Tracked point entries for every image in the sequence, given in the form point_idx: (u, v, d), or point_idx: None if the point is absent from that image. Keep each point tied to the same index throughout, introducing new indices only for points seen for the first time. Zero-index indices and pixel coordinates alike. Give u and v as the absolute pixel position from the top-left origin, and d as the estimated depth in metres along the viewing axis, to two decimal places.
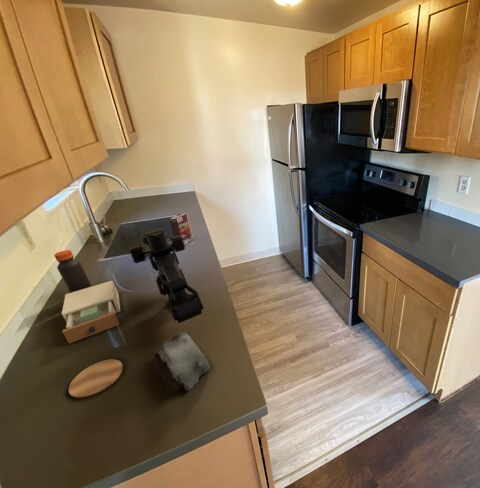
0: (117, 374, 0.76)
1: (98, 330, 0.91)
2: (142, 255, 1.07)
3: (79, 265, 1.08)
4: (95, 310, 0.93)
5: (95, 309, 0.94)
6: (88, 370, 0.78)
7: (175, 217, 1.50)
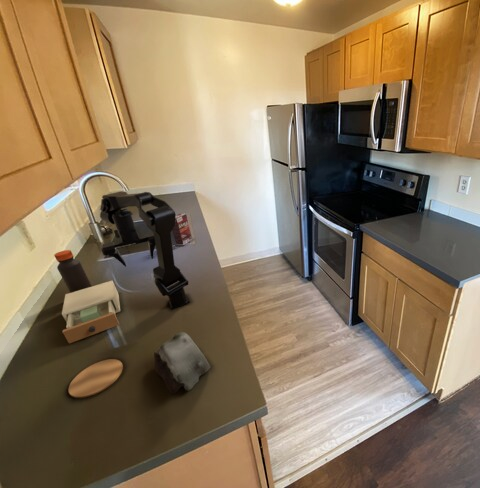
0: (117, 374, 0.76)
1: (98, 330, 0.91)
2: (111, 244, 1.02)
3: (79, 265, 1.08)
4: (95, 310, 0.93)
5: (95, 309, 0.94)
6: (88, 370, 0.78)
7: None
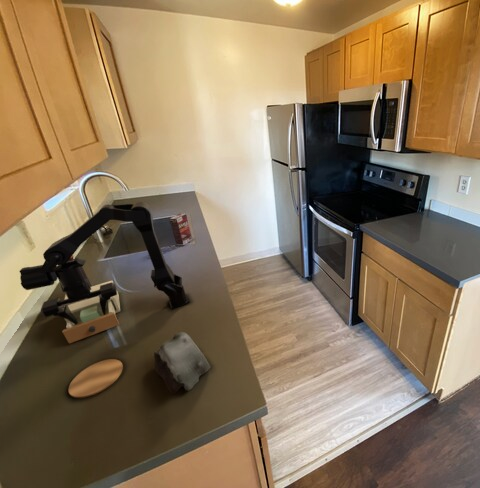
0: (117, 374, 0.76)
1: (98, 330, 0.91)
2: (55, 301, 0.86)
3: None
4: (95, 310, 0.93)
5: (95, 309, 0.94)
6: (88, 370, 0.78)
7: (175, 217, 1.50)
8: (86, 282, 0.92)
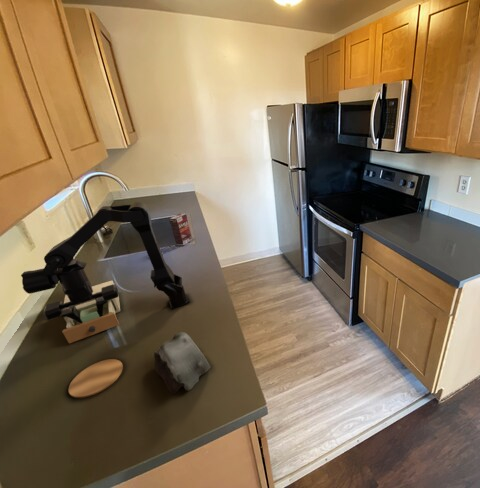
0: (117, 374, 0.76)
1: (98, 330, 0.91)
2: (57, 304, 0.87)
3: None
4: (95, 310, 0.93)
5: (95, 309, 0.94)
6: (88, 370, 0.78)
7: (175, 217, 1.50)
8: (88, 284, 0.92)
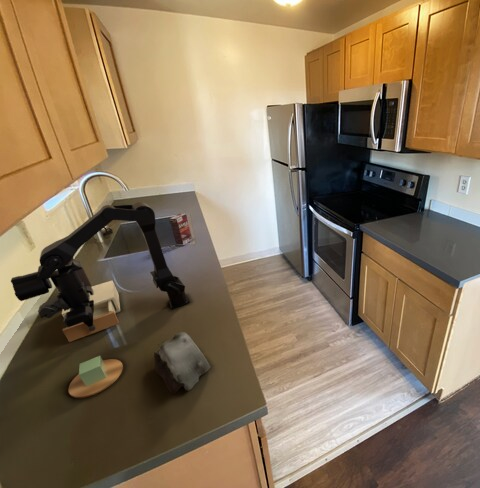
0: (117, 374, 0.76)
1: (98, 329, 0.92)
2: (77, 309, 0.81)
3: None
4: (98, 363, 0.74)
5: (98, 361, 0.75)
6: None
7: (175, 217, 1.50)
8: None
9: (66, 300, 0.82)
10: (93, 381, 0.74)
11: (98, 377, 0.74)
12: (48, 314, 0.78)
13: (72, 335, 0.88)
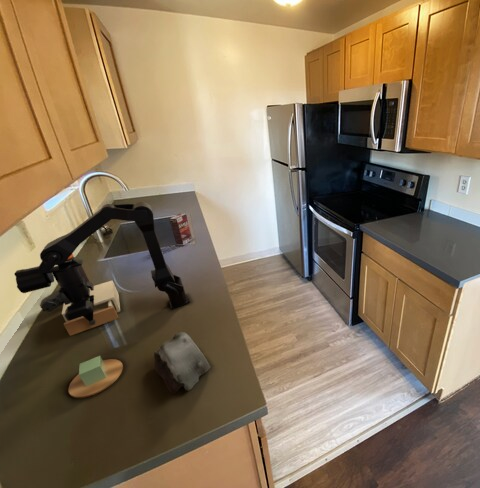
0: (117, 374, 0.76)
1: (98, 323, 0.94)
2: (78, 303, 0.84)
3: None
4: (98, 363, 0.74)
5: (98, 361, 0.75)
6: None
7: (175, 217, 1.50)
8: None
9: (67, 295, 0.84)
10: (93, 381, 0.74)
11: (98, 377, 0.74)
12: (50, 308, 0.81)
13: (73, 329, 0.91)
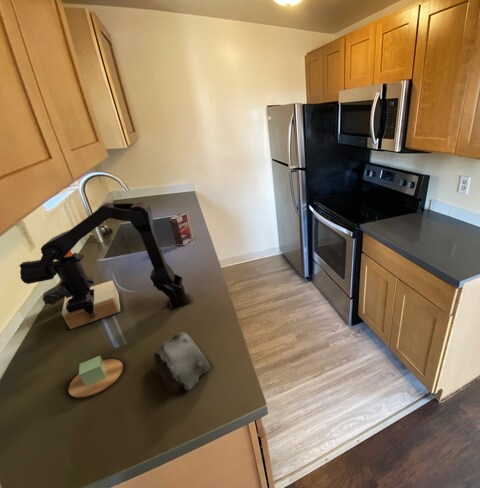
0: (117, 374, 0.76)
1: (98, 316, 0.98)
2: (79, 296, 0.87)
3: None
4: (98, 363, 0.74)
5: (98, 361, 0.75)
6: None
7: (175, 217, 1.50)
8: None
9: (68, 288, 0.88)
10: (93, 381, 0.74)
11: (98, 377, 0.74)
12: (51, 301, 0.84)
13: (74, 322, 0.94)
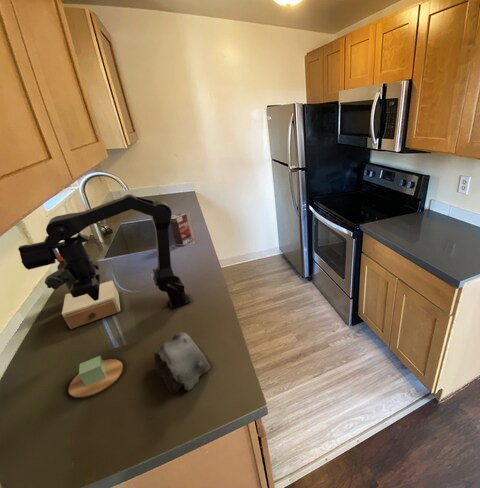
0: (117, 374, 0.76)
1: (98, 316, 0.98)
2: (84, 280, 0.81)
3: None
4: (98, 363, 0.74)
5: (98, 361, 0.75)
6: None
7: (175, 217, 1.50)
8: None
9: (72, 272, 0.82)
10: (93, 381, 0.74)
11: (98, 377, 0.74)
12: (55, 284, 0.79)
13: (74, 322, 0.94)
